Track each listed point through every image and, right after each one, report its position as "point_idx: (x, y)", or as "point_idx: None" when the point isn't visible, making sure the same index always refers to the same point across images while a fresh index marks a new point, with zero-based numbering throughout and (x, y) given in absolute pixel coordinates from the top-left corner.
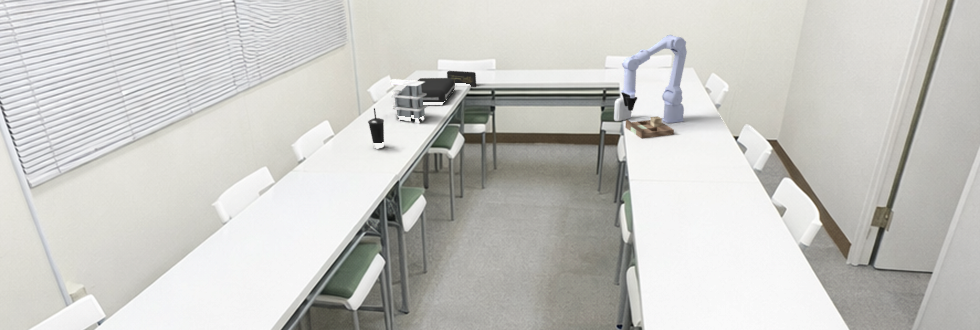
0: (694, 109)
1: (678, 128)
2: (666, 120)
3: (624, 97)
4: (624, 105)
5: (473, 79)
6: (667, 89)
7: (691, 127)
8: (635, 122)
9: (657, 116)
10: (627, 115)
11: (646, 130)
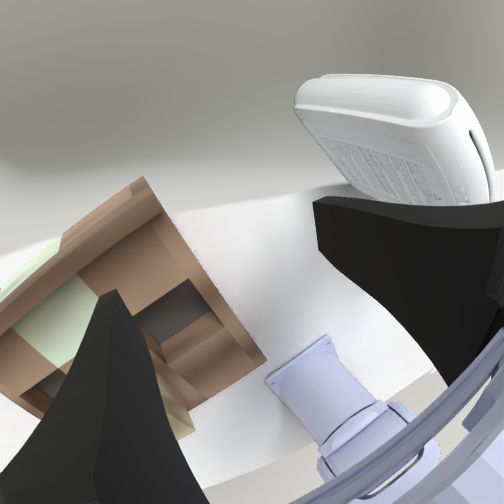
0: (398, 375)
1: (199, 426)
2: (289, 373)
3: (426, 244)
4: (406, 173)
5: None
6: (418, 463)
7: (222, 446)
8: (176, 265)
9: (189, 430)
10: (353, 174)
11: (17, 369)
